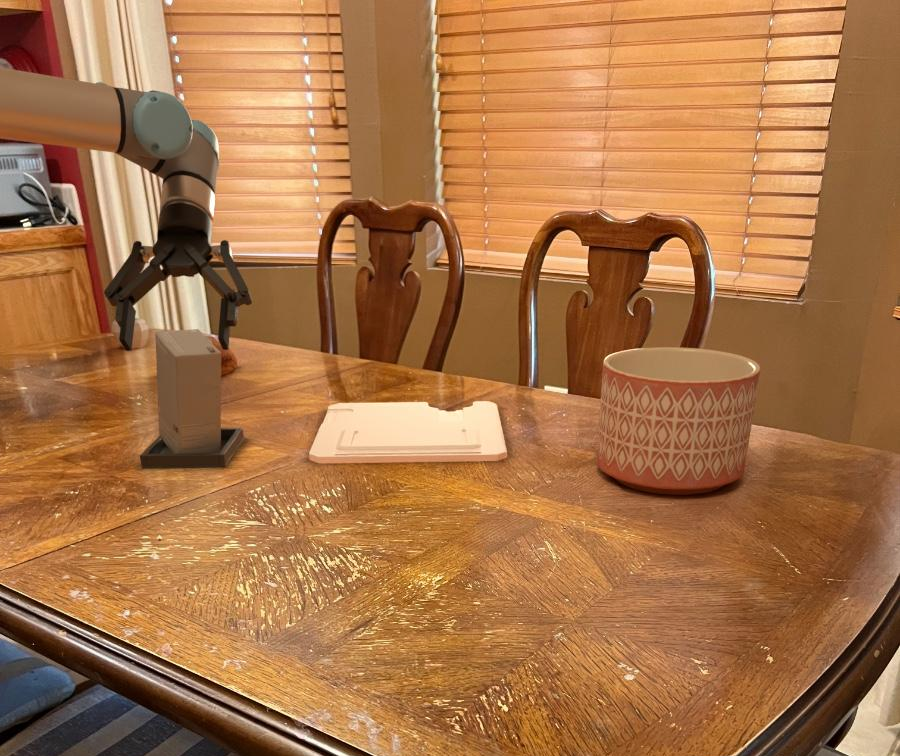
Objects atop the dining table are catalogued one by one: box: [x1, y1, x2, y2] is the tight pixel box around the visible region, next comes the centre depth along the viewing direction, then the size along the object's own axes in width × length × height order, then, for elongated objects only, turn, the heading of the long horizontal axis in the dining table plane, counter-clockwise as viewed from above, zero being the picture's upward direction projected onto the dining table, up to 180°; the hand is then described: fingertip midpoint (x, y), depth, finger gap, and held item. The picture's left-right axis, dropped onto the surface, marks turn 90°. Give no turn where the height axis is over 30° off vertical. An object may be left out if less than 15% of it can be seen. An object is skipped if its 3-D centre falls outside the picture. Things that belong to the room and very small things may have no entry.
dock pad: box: [139, 427, 245, 470], centre depth 124 cm, size 12×13×2 cm
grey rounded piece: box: [111, 317, 150, 350], centre depth 190 cm, size 8×8×7 cm
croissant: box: [155, 335, 238, 377], centre depth 168 cm, size 14×16×8 cm
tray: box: [308, 400, 508, 464], centre depth 132 cm, size 28×28×2 cm
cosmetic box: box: [154, 328, 222, 454], centre depth 119 cm, size 8×7×16 cm
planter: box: [595, 346, 761, 496], centre depth 111 cm, size 19×19×15 cm
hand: (174, 345), depth 119 cm, fingers open, 13 cm apart
